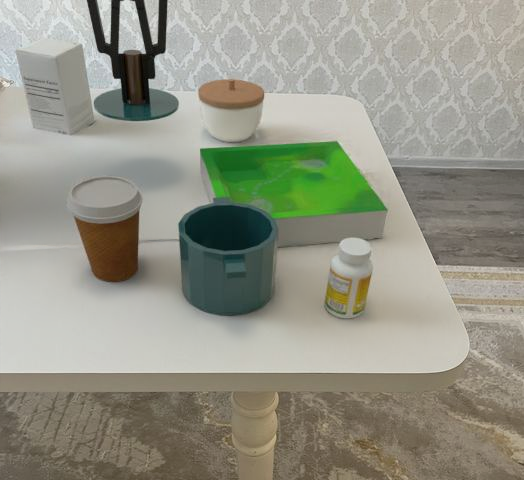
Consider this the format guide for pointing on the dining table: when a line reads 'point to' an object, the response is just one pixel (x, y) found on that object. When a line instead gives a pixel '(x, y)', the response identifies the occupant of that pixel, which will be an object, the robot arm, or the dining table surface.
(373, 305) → the dining table surface
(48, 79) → the rectangular carton
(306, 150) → the tray
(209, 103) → the lidded bowl
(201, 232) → the pot
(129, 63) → the lid
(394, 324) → the dining table surface
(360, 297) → the supplement bottle
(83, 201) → the disposable coffee cup
